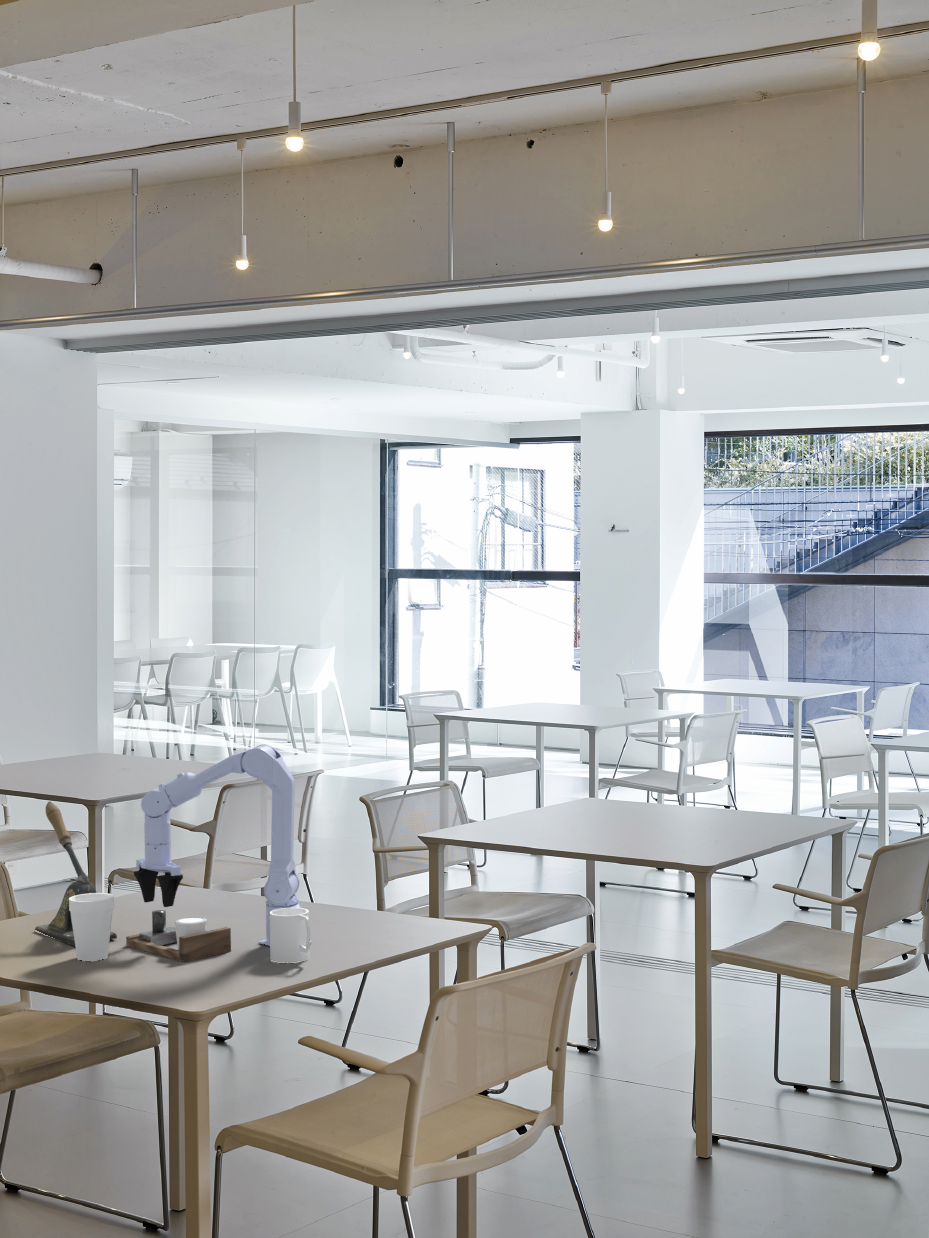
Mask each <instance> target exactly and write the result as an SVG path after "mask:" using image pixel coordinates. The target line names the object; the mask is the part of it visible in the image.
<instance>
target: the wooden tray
mask: <svg viewBox="0 0 929 1238" xmlns="http://www.w3.org/2000/svg"><path fill="white" fill-rule="evenodd" d="M171 927H172V926H171ZM172 928H175V927H172ZM231 930H232V929H231V927H228V926H224V927H220V928H216V929H211V930H206V931H205V932H201V933H196V934H191V935H186V936H182V937H179V950H178V949H176V948H173V947H168V946H164V945H158V944H154V943H150V942H147V941H143V940H140V937H139V933H138V934H134V935H133V934H132V935H128V936H125V937H126V938H125V940H126V941H125V943H126V944H125V945H126V947H129V948H130V947H131V948H133V949H137V950H140V951H144V952H147V953H152V954H155V955H158V956H161V957H165V958H169V959H172V960H176V961H180V962H183V963H184V962H190V961H193V960H199V959H202V958H206V957H207V958H208V957H211V956H215V955H220V954H224V953H229V952H232V933H231V932H232V931H231Z"/></svg>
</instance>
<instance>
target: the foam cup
mask: <svg viewBox="0 0 929 1238" xmlns="http://www.w3.org/2000/svg"><path fill="white" fill-rule="evenodd" d="M114 908H115V895H114V894H113V893H112V894H111V893H107V892H106V893H105V892H97V893H89V894H80V895H76V896H72V897H70V898H69V911H70V913H71V920H72V926H73V933H74V940H75V946H74V947H75V952H76V958H77V961H79V960H82V961H81V962H85V961H91V962H98V960H100V961H103V960H102V959H104V960H106V959H108V955H109V948H110V941H111V939H110V932H112V931H111V930H112V923H113V922H112V920H113V911H114Z"/></svg>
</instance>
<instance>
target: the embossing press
mask: <svg viewBox="0 0 929 1238" xmlns="http://www.w3.org/2000/svg"><path fill="white" fill-rule="evenodd" d="M45 815H46V818H47V820H48V821H49V823H50V825H51V826H52V828H53V829H54V831H55V834H56V836H57V839H58V842H59V843H60V845H61V846H62V847H63V849H65V850H66V853H67V855H68V856H69V859H70V862H71V865H72V866H73V868H74V870H75V873H76V875H77V880H76V881H74V882H72V883H70V884H69V886H67V888H66V890H65V892H64V895H63V899H62V901H61V904H60V907H59V909H58V911H57V913H56V914H55V916H54V918H53V919H52V920H51V921H50V923H47V924H42V925H38V926H35V928H34V931H35V930H37V931H39V932H41V933H43V934H45V935H48V936H50V937H53V938H55V939H58V940H60V941H59V942H61V941H62V942H61V943H64V944H68V945H70V946H74V947H75V940H74V933H73V926H72V920H71V913H70V911H69V898H70V897H72V896H76V895H80V894H89V893H98V892H97V890H96V886H95V885H94V883H92V882H91V881H89V879H88V876H87V874H86V872H84V870H83V867H82V866H81V863H80V861H79V859H78V857H77V856H76V853H75V851H74V849H73V847H72V846H73V843H72V838H71V835H70V833H69V831H68V830H67V828H66V826H65V825H66V824H65V822H64V819H63V816H62V813H61V810H60V808H59V807H58V806H57V805H56V804H55V803H54V802H52V801H47V803H46V805H45ZM117 938H118V936H117V934H116V932H113V931H110V940H112V939H113V940H116V939H117ZM55 939H54V940H55ZM58 940H57V941H58Z"/></svg>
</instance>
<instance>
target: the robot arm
mask: <svg viewBox="0 0 929 1238" xmlns="http://www.w3.org/2000/svg"><path fill="white" fill-rule="evenodd" d="M231 773H232V774H234V773H235V774H241V775H243V774H244V773H246V774H248V775H249V776H250V777H251V778H254V779H258V781H262V782H263V784H265V785H266V786H267V787H268V788H269V789H270V790H271V829H270V830H271V840H270V845H271V846H270V864H269V868H268V877H267V881H266V882H265V884H264V887H263V894H264V897H265V899H266V901H265V929H266V930H265V932H266V933H265V936H266V939H262V940H258V941H257V943H258V944H261V945H264V944H265V946H267V947H270V911H272V910H276V909H281V908H303V907H301V905H300V904H299V898H298V897H297V895H296V893H297V892H298V890H299V888H300V880H299V876H298V874H297V872H296V863H295V861H294V833H295V830H294V827H295V825H294V824H295V819H294V818H295V778H294V776H293V774H292V773H291V771H290V769H289V767H288V766H287V764H286V762H285V761H284V758H283V755H282V753H281V752H279V751H278V750H276V749H275V748H274V747H273V746H271V745H269V744H260V745H256V746H255V747H254V748H248V749H246V750H243V751H240V752H237V753H234V754H232V755H230V756H228V757H226V758H224V759H222V760H221V761H219V762H217V763H214V764H213V765H212V766H210V767H208V768H206V769H204V770H201V772H199V773H197V774H196V773H193V772H189V771H187V772H185V773H184V771H183V772H180V773H179V774H177V775H176V776H177V777H176V778H174V779H173V780H170V781H168V782H167V783H164V782H162V783H160V784H158V788H155V789H153V790H152V789H151V790H149V791H148V792H147V793H146V794H145V795H144V796H143V797H142V799H141V802H140V806H141V810H142V812H143V814H144V822H143V823H144V831H143V832H144V858H139V859H136V860H135V861H136V862H135V863H136V864H135V865H136V866H135V867H136V869H138V870H135V871H134V872H133V875H134V878H135V879H136V881H137V882H138V885H139V888H140V891H141V895H142V898H143V901H144V903H151V902H154V901H155V895H156V883H157V881H158V883H159V887H160V892H161V900H162V901H161V902H162V905H163V908H169V907H173V906H174V903H175V899H176V895H177V891H178V888H179V886H180V883H181V882H182V880H183V879H184V874H182V873H181V865H177V864H176V863H174V862H173V861H172V843H171V842H172V839H171V838H172V837H171V836H172V832H171V831H172V830H171V829H172V828H171V827H172V826H171V823H172V822H171V812H170V811H171V810H172V808H173V809H174V808H177V807H179V806H182V805H183V804H185V803H187V802H189V801H191V800H193V799H195V798H196V797H199V796H200V795H201V793H202V790H203V787H204V786H207V785H209V784H211V783H213V782H215V781H217V780H219V779H221V778H223V777H225V776H228V775H230V774H231ZM159 873H162V874H161V875H159ZM303 909H305V908H303ZM312 943H313V941H312V940H310V944H312Z"/></svg>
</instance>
